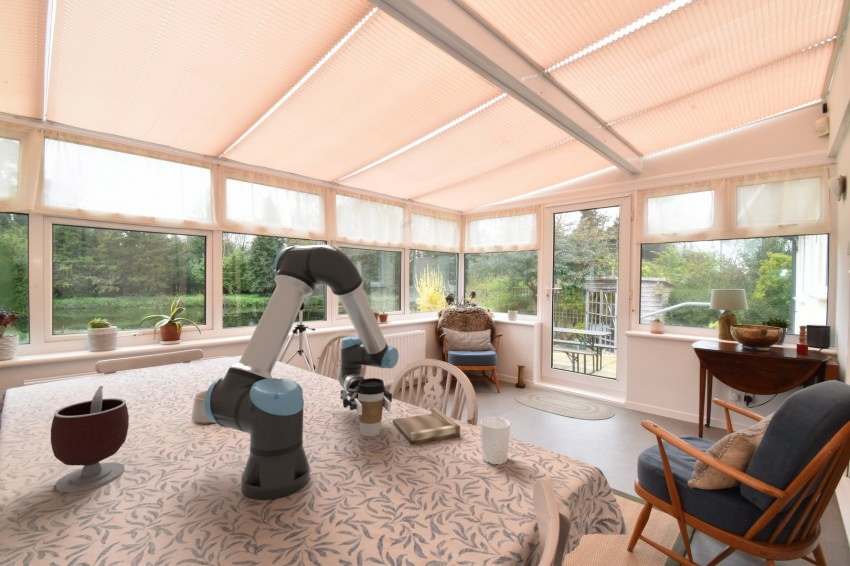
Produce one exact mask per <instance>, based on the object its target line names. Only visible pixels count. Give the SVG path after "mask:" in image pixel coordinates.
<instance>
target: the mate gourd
mask: <svg viewBox="0 0 850 566" xmlns="http://www.w3.org/2000/svg"><path fill="white" fill-rule="evenodd" d="M103 388H104V386H103V385H100V386H99V387H98V388H97V390H96V391H95V393H94V394H93V397H92V400H85V401H80V402H76V403H72V404H70V405H67V406H63V407H61V408H58V409H57V410H55V411H54V413H53V415H54V416H53V418H52V422H51V427H50V445H51V449H52V453H53V456H54V457H55V458H56V459H57V460H58V461H59V462H61V463H63V464H64V465H66V466H83V467H82V468H78V469H76V470H73V471H72V472H69V473H67V474H65V475H63V476H62V477H61V478H59V479H58V480H57V481H56V482H55V490H56V491H58V492H60V493H78V492H84V491H88V490H92V489H94V488H99V487H102V486H104V485H106V484H109V483H111V482H113V481H114V480H117V479H118V478H119V477H121V476H122V475H123V473H125V466H124V464H122V463H121V462H103V463H100V462H102V461H103V460H106V459H107V458H110V457H111V456H113V455H115V454H116V453H118V451H119V450H120V448H121V447H122V446H123V445H124V443H125V442H126V439H127V436H128V430H129V422H130V421H129V420H130V419H129V417H130V415H129V410H128V406H127V401H126V399H123V398H111V397H110V398H103V397H104V396H103Z"/></svg>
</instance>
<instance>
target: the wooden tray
mask: <svg viewBox="0 0 850 566" xmlns="http://www.w3.org/2000/svg"><path fill="white" fill-rule="evenodd" d="M393 423H394V424H393ZM392 424H393V425H394V427H396V429H397V430H398V429H399V430H400V431H399V432H400V433H401V434H402V435H403V437H404V438H405V437H406V438H405V439H406V440H407V441H408V442H409V443H410V444H412V445H411V446H414V444H416V445H420V443H421V444H426V442H427V443H431V442H436V441H437V442H439V441H442V440H443V439H444V440H448V439H455V438H460V437H461V425H459V424H458V423H456V422H455V421H454V420H453V419H451V418H450V416H448V415H446V414H445V413H443V412H442V411H441V410H440V409H438V408H437V407H432V408H431V413H428V414H427V413H426V414H420V415H414V416H407V417H406V416H405V417H401V418H392Z"/></svg>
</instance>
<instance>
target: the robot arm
mask: <svg viewBox="0 0 850 566" xmlns="http://www.w3.org/2000/svg"><path fill="white" fill-rule="evenodd" d="M273 267H274V269H273V272H274V275H275V277H274V282H275V285H276V287H275V289H274V291H273V293H272V295H271V297H270V299H269V300H268V303H267V305H266V307H265V309H264V311H263V313H262V314H261V317H260V320H259V321H258V323H257V325H256V328H255V329H254V331H253V333H252V335H251V337H250V339H249V341H248V343H247V345H246V347H245V349H244V351H243V354H242V356H241V357H240V359H239V361H238V363H236V364H233V365H232V366H230V367H229V368H228V370H227V372H226V374H225V375H224V376H223V377H220V378H218V379H217V380H215V381H213V382H212V383H211V384H210V385H209V387H208V388H207V391H206V392H205V395H204V399H203V409H204V412H205V414H206V417H207V418H208V419H209V420H210V421H211V422H213V423H215V424H217V425H218V426H220V427H222V428H227V429H231V430H232V429H233V430H236V431H240V432H243V433H248V434H250V437H249V438H250V439H249V440H250V441H249V446H250V447H249V455H248V457H247V461H246V464H245V468H244V470H243V473H242V475H241V491H242V493H243V494H244V495H245V496H247V497H249V498H251V499H254V500H271V499H272V500H273V499H278V498H283V497H285V496H289V495H291V494H294V493H295V492H297V491H299V490H300V489H302V488H303V487H305V486H306V485H307V484H308V482H309V480H310V478H311V466H310V463H309V460H308V457H307V454H306V451H305V448H304V445H303V441H304V440H303V437H304V435H303V432H304V405H305V401H304V400H305V399H304V393H303V392H304V391H303V388H302V386H301V385H300V384H299V383H298V382H296V381H295V380H292V379H289V378H281V377H280V378H276V377H273V376H272V372H273V369H274V368H275V365H276V363H277V361H278V359H279V356H280V354H281V352H282V349H283V347H284V346H285V343H286V340H287V339H288V337H289V334H290V332H291V330H292V327H293V325H294V324H295V321H296V319H297V316H298V313H299V311H300V310H301V307H302V305H303V303H304V300H305V299H306V298H307V297H309V296H311V295H312V294H313V293H314V291H315V288H316V287H317V285H325V286H327V287H329V288H330V290H331V292H332V293H333V295H334V296H337V297H338V298H339V300H340V302H341V304H342V306H343V308H344V310H345V312H346V314H347V316H348V318H349V320H350V321H351V324H352V326H353V328H354V329H355V332H356V333H357V335H358V336H346V337H343V338H342V340H341V348H340V372H339V375H338V382H339V384H340V387H341V388H342V389H341V390H340V399H341V401H342V407H343V408H346V409H347V408H348V407H349V410H350V411H354V410H355V411H356V413H357V414H358V416H359V415H362V404H361V403H360V402H359V401H358V392H357V388H358V384H359V382H360V381H361V380H364V379H366V378H365V377H364V376H363V375H362V372H363V371H362V370H363V369H362V368H363V366H366V367H367V366H368V367H374V368H379V369H391V370H392V369H393V368H394V367H396V366H397V364H398V361H399V357H400V356H399V351H398V349H397V348H396V347H394V346H391V345H390V346H389V345H388V342H387V341H386V338H385V337H384V333H383V332H382V330H381V327H380V325H379V322H378V321H377V320H378V319H377V318H376V315H375V314H374V311H373V308H372V306H371V305H370V303H369V300H368V298H367V295H366V294H365V291H364V289H363V286H362V284H363V283H364V281H363V278H362V276H361V274H360V271H359V269H358V268H357V266H356V265H355V264H354V262H353V261H352V260H351V259H350V258H349V256H347V254H346V253H345V252H343V251H342V250H340V249H339V248H337V247H335V246H332V245H330V244H318V245H317V244H316V245H294V246H288V247H285V248H283V249H282V250H280V251H279V253H278V254H277V255H276V257H275V259H274V262H273ZM348 397H349V398H348ZM383 397H384V402H383V409H385V410H386V411H387V412H391V408H392V407H391V403H393V400H392V399H393V394H392V393H391V392H389V391H387V390H386V389H385V391H384V395H383Z"/></svg>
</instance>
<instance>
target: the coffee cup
mask: <svg viewBox="0 0 850 566" xmlns="http://www.w3.org/2000/svg"><path fill="white" fill-rule="evenodd" d="M384 384H385V383H384V380H383V379H380V378H375V377H372V378H371V377H370V378H369V377H368V378H365V379H364V380H361V381H360V382H359V384H358V388H357V392H358V401H359V402H360V403H361V404H362V415H359V414H358V418H359V419H358V421H359V432H360V435H362V436H365V437H373V436H377V435H379V434H380V433H381V426H382V418H383V411H384V410H383V409H384V407H383V402H384V397H383V395H384V391H385V390H386V387H385V385H384Z"/></svg>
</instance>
